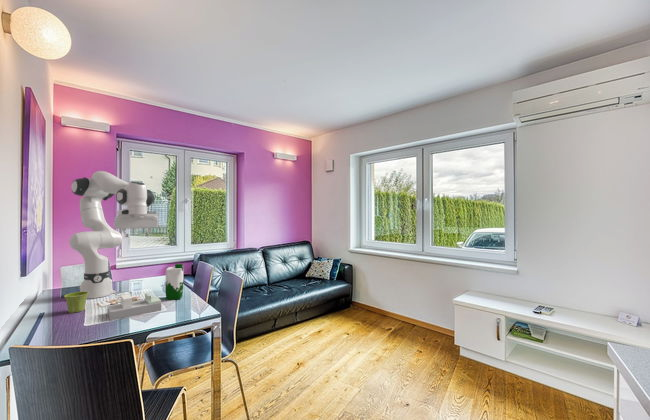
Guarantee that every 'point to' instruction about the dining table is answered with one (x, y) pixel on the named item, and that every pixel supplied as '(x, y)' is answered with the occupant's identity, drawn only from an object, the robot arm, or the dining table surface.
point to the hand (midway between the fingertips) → (136, 236)
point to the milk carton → (174, 282)
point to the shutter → (151, 299)
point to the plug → (126, 301)
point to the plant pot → (76, 301)
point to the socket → (132, 309)
